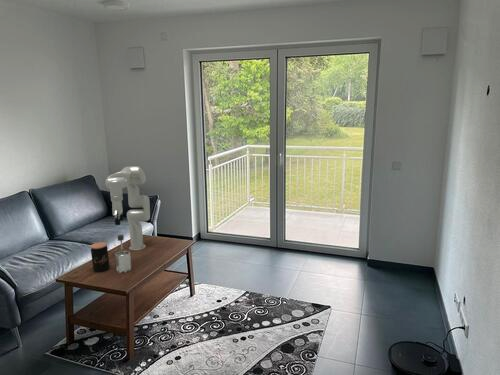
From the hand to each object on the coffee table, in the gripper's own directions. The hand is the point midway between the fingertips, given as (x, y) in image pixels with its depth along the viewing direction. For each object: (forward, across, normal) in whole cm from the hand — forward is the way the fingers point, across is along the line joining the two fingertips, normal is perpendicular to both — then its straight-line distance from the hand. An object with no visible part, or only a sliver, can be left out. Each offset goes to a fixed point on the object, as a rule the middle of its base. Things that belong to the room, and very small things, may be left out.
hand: (119, 222), depth 253 cm
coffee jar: (+34, -4, -16) cm, 38 cm away
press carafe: (+34, -1, 0) cm, 34 cm away
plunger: (+24, 0, 0) cm, 24 cm away
